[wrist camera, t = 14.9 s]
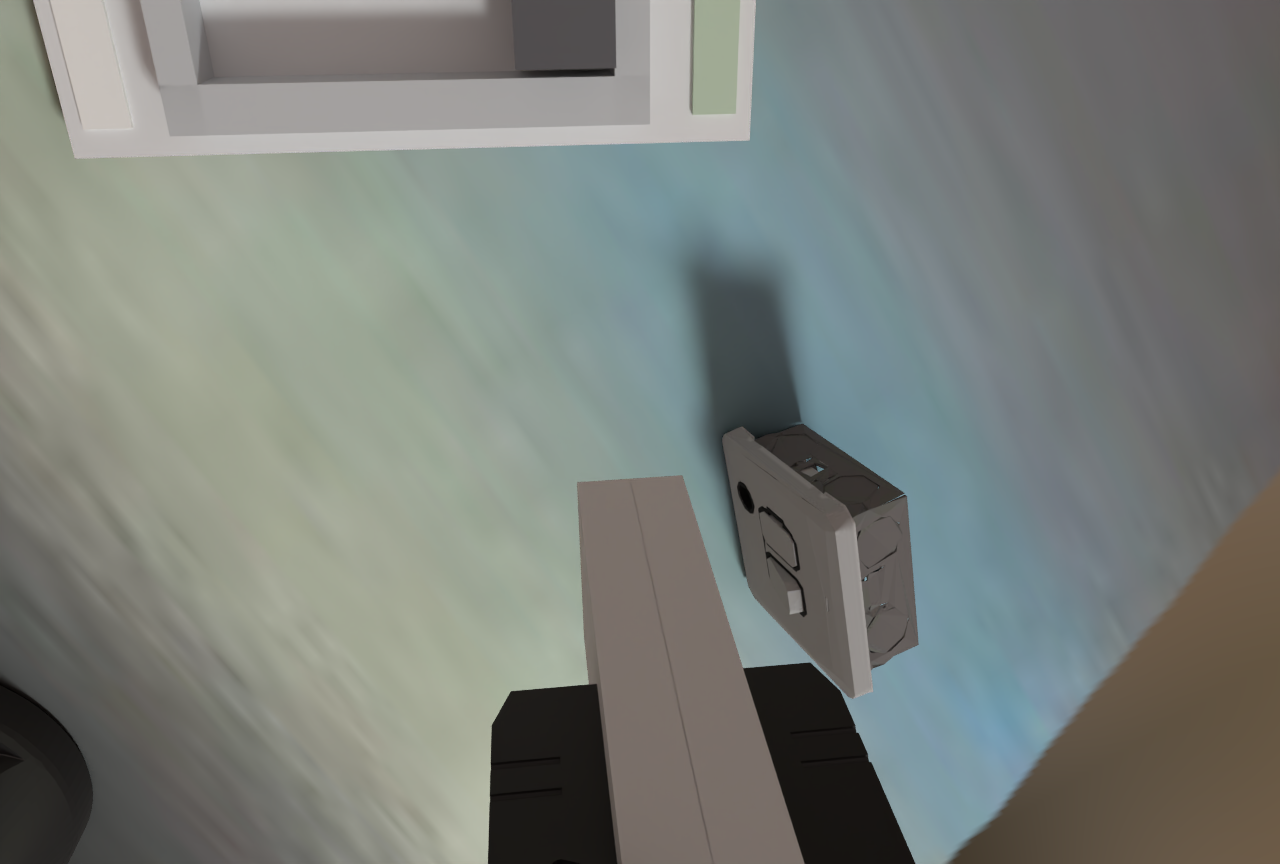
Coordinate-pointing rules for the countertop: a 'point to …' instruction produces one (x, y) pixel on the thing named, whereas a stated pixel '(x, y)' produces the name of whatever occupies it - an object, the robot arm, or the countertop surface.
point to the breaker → (564, 34)
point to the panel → (380, 50)
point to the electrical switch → (824, 550)
